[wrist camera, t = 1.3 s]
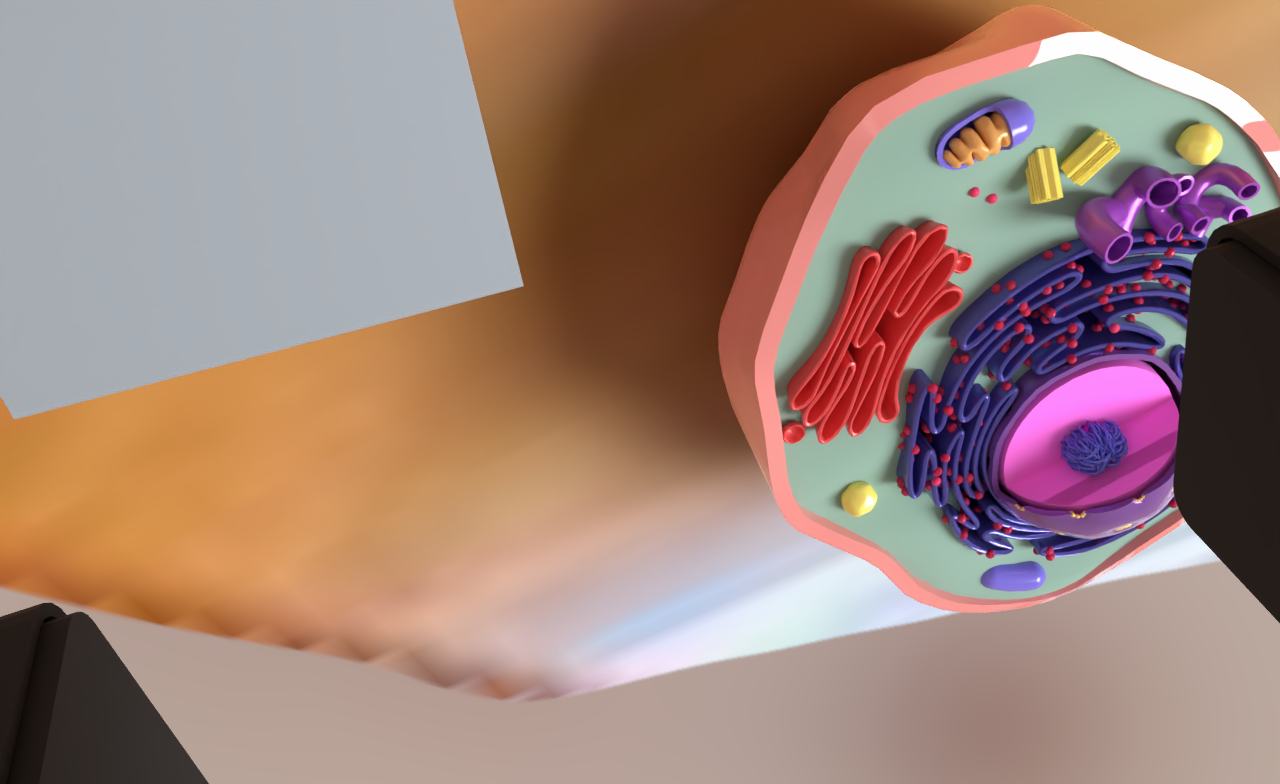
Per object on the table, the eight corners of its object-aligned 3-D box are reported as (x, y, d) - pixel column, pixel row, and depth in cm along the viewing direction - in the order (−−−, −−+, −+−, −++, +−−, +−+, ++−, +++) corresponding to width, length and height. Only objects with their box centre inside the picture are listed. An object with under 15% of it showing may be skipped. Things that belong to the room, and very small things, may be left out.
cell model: (1087, -186, 34) (1381, -85, 25) (1199, 322, 46) (1424, 512, 37) (563, 121, 35) (661, 321, 26) (804, 535, 47) (929, 770, 38)
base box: (-209, -188, 27) (-312, -129, 22) (365, -307, 28) (384, -276, 24) (50, 298, 35) (14, 419, 30) (491, 187, 36) (523, 286, 31)
